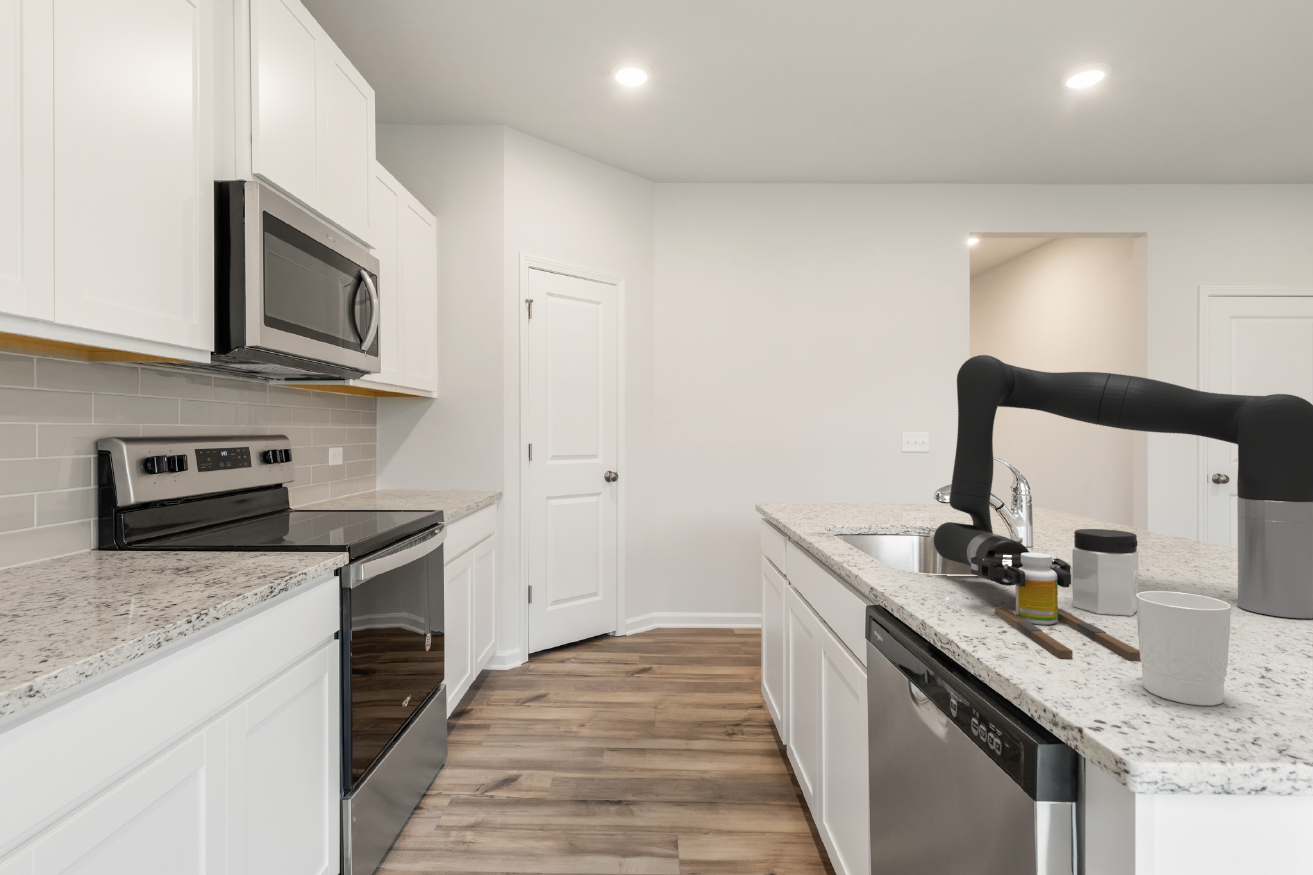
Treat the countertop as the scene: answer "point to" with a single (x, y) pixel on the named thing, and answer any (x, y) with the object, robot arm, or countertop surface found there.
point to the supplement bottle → (1038, 590)
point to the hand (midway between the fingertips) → (1044, 579)
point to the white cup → (1183, 646)
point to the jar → (1105, 571)
